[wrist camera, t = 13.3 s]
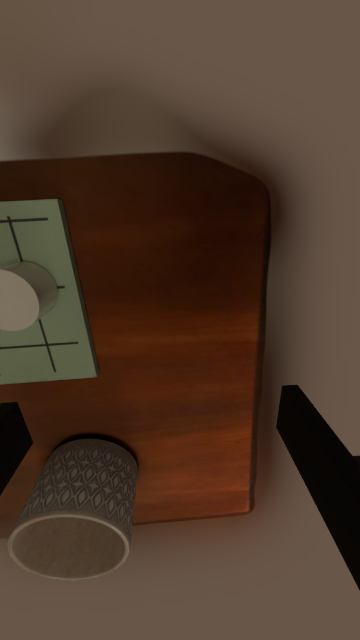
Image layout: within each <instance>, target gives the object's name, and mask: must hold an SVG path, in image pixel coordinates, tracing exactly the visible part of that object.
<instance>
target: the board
mask: <svg viewBox="0 0 360 640" xmlns="http://www.w3.org/2000/svg"><path fill="white" fill-rule="evenodd" d="M20 261H25V262H31V263H34V264H36V265H38V266H40V267H42V268H43V269H45V270H46V271H47V272H48V273H49V274H50V275H51V276H52V278H53V279H54V281H55V283H56V285H57V289H58V299H57V302H56V305H55V306H54V308H53V309H52V310H50V311H49V312H48V313H47V314H45V315H44V316H43V317H41V318H40V319H39V320H37V321H36V322H35V323H33V324H32V325H31V326H30V327H28V328H26V329H23V330H19V331H6V330H2V329H0V384H12V383H25V382H38V381H52V380H65V379H78V378H91V377H97V376H98V373H99V367H98V363H97V358H96V354H95V349H94V344H93V340H92V335H91V330H90V326H89V321H88V317H87V312H86V307H85V303H84V298H83V294H82V289H81V284H80V280H79V275H78V271H77V266H76V261H75V257H74V252H73V247H72V243H71V238H70V234H69V229H68V224H67V220H66V215H65V211H64V206H63V201H62V200H60V199H45V200H26V201H7V202H0V266H3V265H7V264H11V263H15V262H20Z"/></svg>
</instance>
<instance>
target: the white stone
mask: <svg viewBox="0 0 360 640" xmlns="http://www.w3.org/2000/svg"><path fill="white" fill-rule="evenodd" d="M57 299H58V289H57V285H56V283H55V281H54V279H53V278H52V276H51V275H50V274H49V273H48V272H47V271H46V270H45V269H43V268H42V267H40V266H38V265H36V264H34V263H31V262H25V261H20V262H15V263H11V264H7V265H3V266H0V329H2V330H6V331H19V330H23V329H26V328H28V327H30V326H31V325H32V324H33V323H35V322H36V321H37V320H39V319H40V318H41V317H43V316H44V315H45V314H47V313H48V312H49V311H50V310H52V309H53V308H54V306H55V305H56V302H57Z"/></svg>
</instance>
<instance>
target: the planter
mask: <svg viewBox="0 0 360 640" xmlns="http://www.w3.org/2000/svg"><path fill="white" fill-rule="evenodd" d="M137 478H138V466H137V463H136V461H135V459H134V458H133V456H132V455H131V454H130V453H129V452H128V451H127V450H125V449H124V448H122V447H121V446H119V445H117V444H114V443H112V442H109V441H105V440H100V439H80V440H74V441H71V442H68V443H66V444H63V445H61V446H60V447H58V448H57V449H56V450H55V451H54V452H52V454H51V455H50V456H49V458H48V460H47V462H46V464H45V466H44V468H43V470H42V472H41V474H40V476H39V478H38V480H37V482H36V484H35V486H34V488H33V490H32V492H31V494H30V496H29V498H28V500H27V502H26V504H25V506H24V508H23V510H22V512H21V514H20V516H19V518H18V520H17V522H16V524H15V526H14V528H13V530H12V532H11V534H10V537H9V539H8V545H7V548H8V552H9V554H10V556H11V558H12V559H13V560H14V561H15V563H17V564H18V565H19V566H20V567H22V568H24V569H25V570H27V571H29V572H31V573H33V574H36V575H39V576H42V577H46V578H51V579H56V580H86V579H91V578H96V577H100V576H102V575H105V574H108V573H110V572H112V571H114V570H115V569H117V568H118V567H120V566H121V565H122V564H123V563H124V561H125V560H126V559H127V556H128V554H129V550H130V541H131V532H132V523H133V514H134V505H135V496H136V487H137Z"/></svg>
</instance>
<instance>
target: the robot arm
mask: <svg viewBox="0 0 360 640" xmlns="http://www.w3.org/2000/svg"><path fill="white" fill-rule="evenodd" d="M276 428H277V429H278V432H279V434H280V435H281V437H282V439H283V441H284V443H285V445H286V447H287V449H288V451H289V453H290V455H291V457H292V459H293V461H294V463H295V465H296V467H297V468H298V471H299V473H300V475H301V476H302V479H303V480H304V482H305V484H306V486H307V488H308V490H309V492H310V494H311V496H312V498H313V500H314V502H315V504H316V505H317V508H318V510H319V512H320V514H321V516H322V518H323V520H324V522H325V523H326V525H327V527H328V529H329V531H330V533H331V535H332V537H333V539H334V541H335V543H336V545H337V547H338V549H339V551H340V553H341V555H342V557H343V559H344V561H345V563H346V565H347V567H348V568H349V570H350V572H351V574H352V576H353V578H354V580H355V582H356V584H357V586H358V588H359V590H360V456H352V455H351V454H350V452H349V451H348V450H347V448H346V447H345V446H344V444H343V443H342V442H341V441H340V439H339V438H338V437H337V435H336V434H335V433H334V432H333V430H332V429H331V428H330V426H329V425H328V424H327V422H326V421H325V420H324V419H323V417H322V416H321V415H320V413H319V412H318V411H317V410H316V408H315V407H314V406H313V404H312V403H311V402H310V400H309V399H308V398H307V397H306V395H305V394H304V393H303V391H302V390H301V389H300V388H299V386H298V385H287V386H282V391H281V398H280V404H279V411H278V418H277V425H276ZM32 444H33V441H32V438H31V436H30V433H29V431H28V428H27V426H26V423H25V421H24V418H23V416H22V413H21V411H20V408H19V406H18V403H17V402H10V403H1V404H0V495H1V493H2V492H3V490H4V489H5V487H6V485H7V484H8V482H9V481H10V479H11V477H12V476H13V474H14V473H15V471H16V469H17V468H18V466H19V465H20V463H21V461H22V460H23V458H24V457H25V455H26V453H27V452H28V450H29V448H30V447H31V445H32Z"/></svg>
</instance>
